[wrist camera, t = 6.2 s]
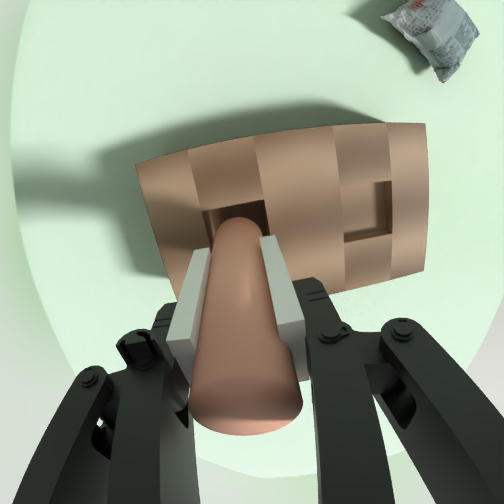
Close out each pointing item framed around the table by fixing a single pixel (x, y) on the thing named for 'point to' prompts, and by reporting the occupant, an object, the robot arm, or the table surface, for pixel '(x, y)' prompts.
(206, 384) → the dowel
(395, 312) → the table surface
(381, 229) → the bore block
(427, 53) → the packaged food
